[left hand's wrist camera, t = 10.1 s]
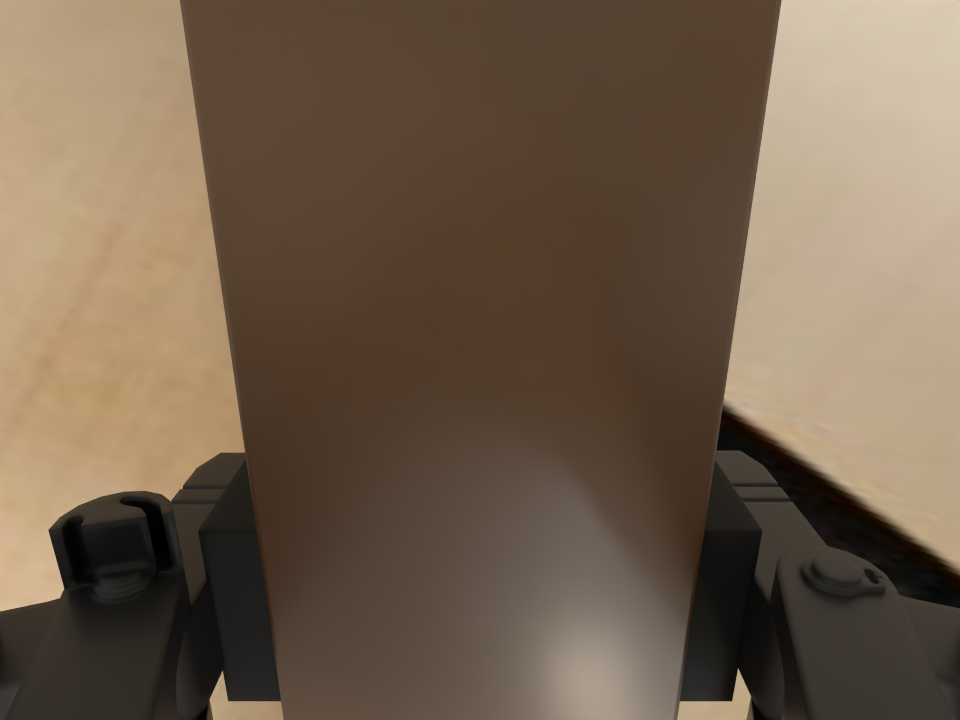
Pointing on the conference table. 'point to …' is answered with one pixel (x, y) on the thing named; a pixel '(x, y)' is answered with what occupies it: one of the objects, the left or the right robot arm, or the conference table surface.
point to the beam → (480, 334)
